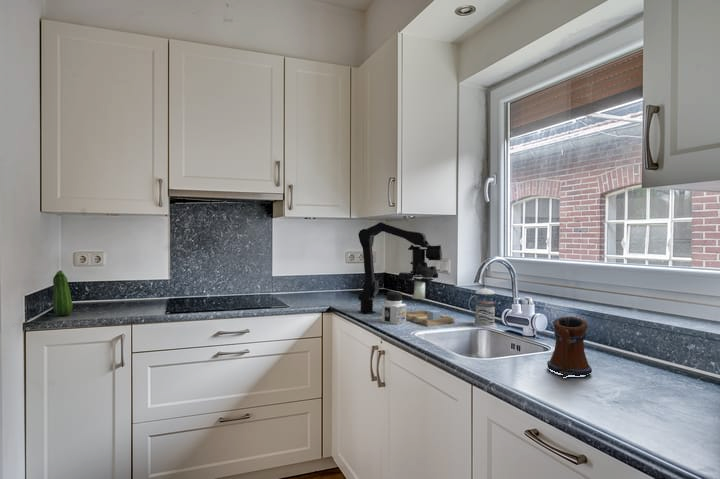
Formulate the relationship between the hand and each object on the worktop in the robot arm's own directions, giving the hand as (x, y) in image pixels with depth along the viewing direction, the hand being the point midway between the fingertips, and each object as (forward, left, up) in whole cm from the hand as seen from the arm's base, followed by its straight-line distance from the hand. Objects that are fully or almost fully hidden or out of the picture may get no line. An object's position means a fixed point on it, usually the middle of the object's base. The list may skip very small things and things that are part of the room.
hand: (418, 294), depth 204 cm
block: (+13, -2, -9) cm, 17 cm away
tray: (+8, -2, -10) cm, 13 cm away
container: (+5, -17, -10) cm, 20 cm away
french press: (+26, +14, -10) cm, 32 cm away
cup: (0, 0, -2) cm, 2 cm away
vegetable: (-68, -142, -10) cm, 157 cm away
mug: (+85, -12, -11) cm, 87 cm away
